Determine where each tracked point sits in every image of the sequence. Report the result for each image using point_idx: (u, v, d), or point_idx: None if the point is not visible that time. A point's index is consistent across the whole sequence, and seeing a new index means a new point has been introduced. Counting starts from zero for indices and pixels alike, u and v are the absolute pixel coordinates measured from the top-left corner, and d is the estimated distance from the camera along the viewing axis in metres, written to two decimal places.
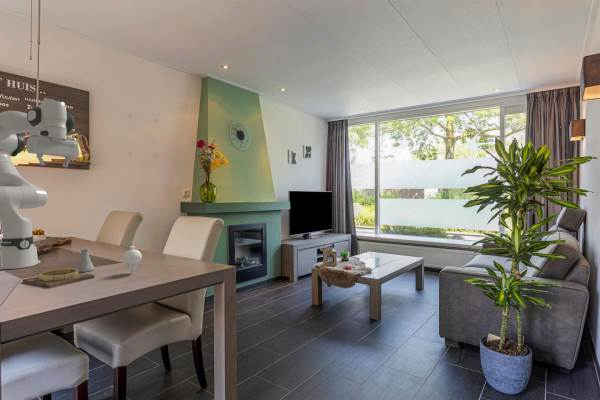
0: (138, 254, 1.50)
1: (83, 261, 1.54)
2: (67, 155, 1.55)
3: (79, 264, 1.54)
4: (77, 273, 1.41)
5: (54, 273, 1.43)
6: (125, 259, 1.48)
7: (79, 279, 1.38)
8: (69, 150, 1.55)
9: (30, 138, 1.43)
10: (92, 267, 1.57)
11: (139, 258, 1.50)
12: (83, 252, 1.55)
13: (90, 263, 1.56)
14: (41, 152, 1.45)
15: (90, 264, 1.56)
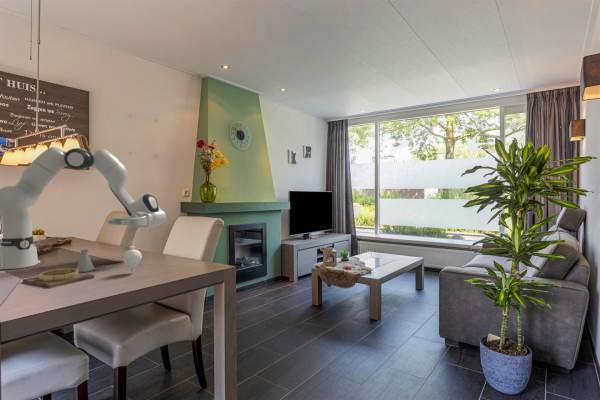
0: (138, 254, 1.50)
1: (83, 261, 1.54)
2: (118, 224, 1.76)
3: (79, 264, 1.54)
4: (77, 273, 1.41)
5: (54, 273, 1.43)
6: (125, 259, 1.48)
7: (79, 279, 1.38)
8: None
9: (145, 220, 1.74)
10: (92, 267, 1.57)
11: (139, 258, 1.50)
12: (83, 252, 1.55)
13: (90, 263, 1.56)
14: (132, 225, 1.71)
15: (90, 264, 1.56)
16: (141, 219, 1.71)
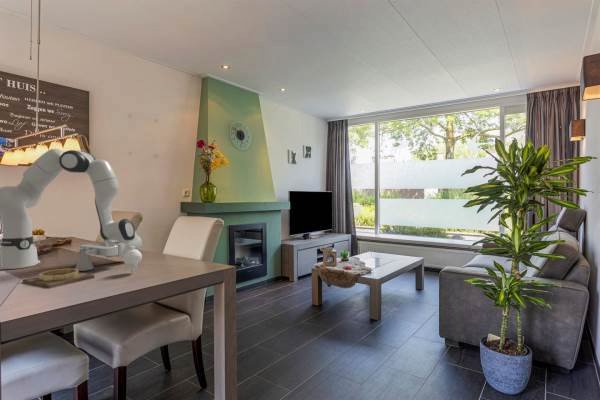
0: (138, 254, 1.50)
1: (83, 260, 1.54)
2: None
3: (79, 263, 1.54)
4: (77, 273, 1.41)
5: (54, 273, 1.43)
6: (125, 259, 1.48)
7: (79, 279, 1.38)
8: None
9: (117, 249, 1.61)
10: (92, 266, 1.57)
11: (139, 258, 1.50)
12: (83, 251, 1.55)
13: (90, 262, 1.57)
14: None
15: (90, 263, 1.56)
16: (112, 249, 1.58)
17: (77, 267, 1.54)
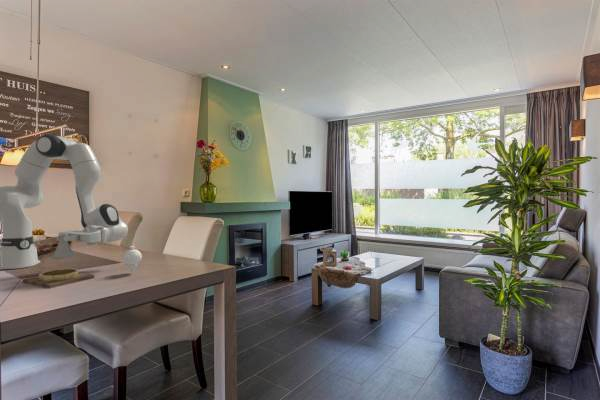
0: (138, 254, 1.50)
1: (61, 247, 1.40)
2: None
3: (57, 250, 1.40)
4: (77, 273, 1.41)
5: (54, 273, 1.43)
6: (125, 259, 1.48)
7: (79, 279, 1.38)
8: None
9: (100, 236, 1.46)
10: (72, 254, 1.43)
11: (139, 258, 1.50)
12: (61, 237, 1.40)
13: (69, 249, 1.42)
14: None
15: (69, 250, 1.42)
16: (93, 235, 1.43)
17: (55, 255, 1.39)
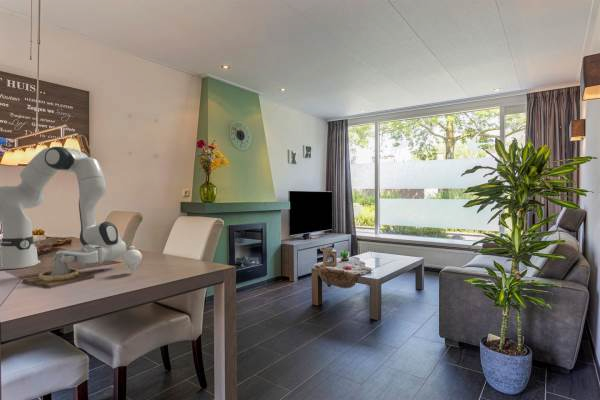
0: (138, 254, 1.50)
1: (58, 266, 1.38)
2: None
3: (54, 270, 1.38)
4: (77, 273, 1.41)
5: None
6: (125, 259, 1.48)
7: (79, 279, 1.38)
8: None
9: (97, 256, 1.44)
10: None
11: (139, 258, 1.50)
12: (58, 256, 1.38)
13: (66, 268, 1.40)
14: (79, 262, 1.41)
15: (66, 269, 1.40)
16: (91, 255, 1.41)
17: (52, 274, 1.37)
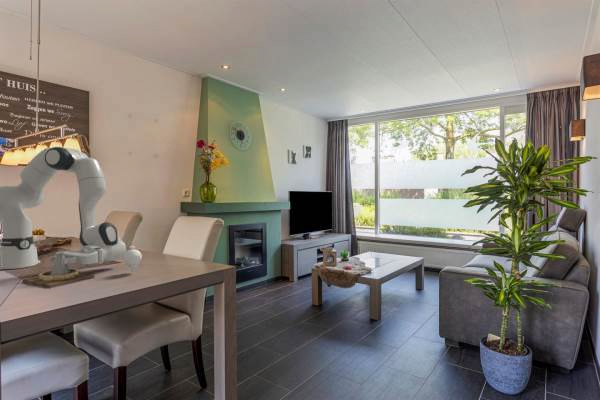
0: (138, 254, 1.50)
1: (58, 266, 1.38)
2: None
3: (54, 270, 1.38)
4: (77, 273, 1.41)
5: None
6: (125, 259, 1.48)
7: (79, 279, 1.38)
8: None
9: (96, 257, 1.44)
10: None
11: (139, 258, 1.50)
12: (58, 256, 1.38)
13: (66, 268, 1.40)
14: (79, 263, 1.41)
15: (66, 269, 1.40)
16: (90, 256, 1.41)
17: (52, 274, 1.37)
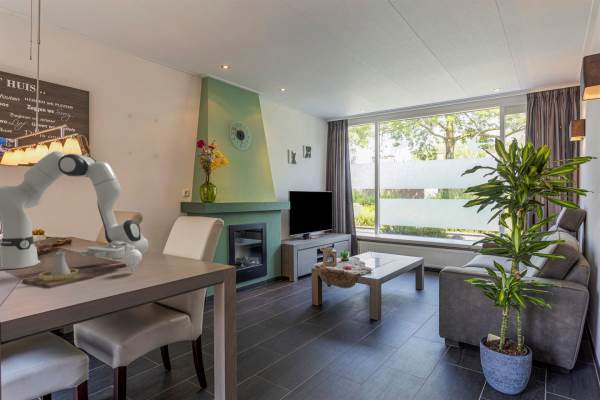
0: (138, 254, 1.50)
1: (58, 266, 1.38)
2: (93, 255, 1.57)
3: (54, 270, 1.38)
4: (77, 273, 1.41)
5: None
6: (125, 259, 1.48)
7: (79, 279, 1.38)
8: None
9: (124, 251, 1.56)
10: None
11: (139, 258, 1.50)
12: (58, 256, 1.38)
13: (66, 268, 1.40)
14: (108, 257, 1.53)
15: (66, 269, 1.40)
16: (119, 251, 1.53)
17: (52, 274, 1.37)
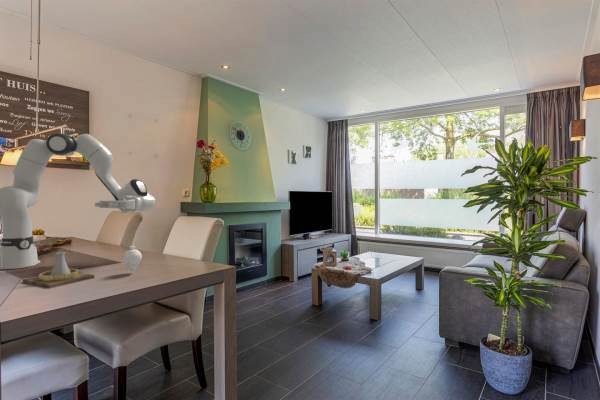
0: (138, 254, 1.50)
1: (58, 266, 1.38)
2: (105, 207, 1.71)
3: (54, 270, 1.38)
4: (77, 273, 1.41)
5: None
6: (125, 259, 1.48)
7: (79, 279, 1.38)
8: None
9: (134, 203, 1.70)
10: None
11: (139, 258, 1.50)
12: (58, 256, 1.38)
13: (66, 268, 1.40)
14: (120, 208, 1.66)
15: (66, 269, 1.40)
16: (129, 202, 1.67)
17: (52, 274, 1.37)
